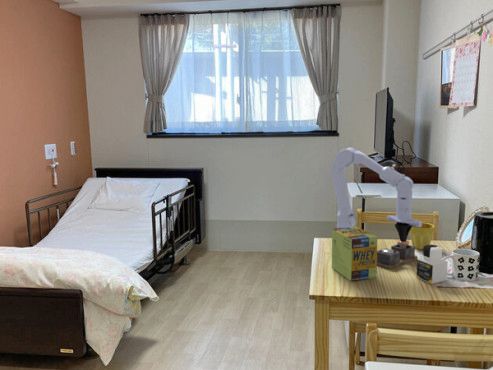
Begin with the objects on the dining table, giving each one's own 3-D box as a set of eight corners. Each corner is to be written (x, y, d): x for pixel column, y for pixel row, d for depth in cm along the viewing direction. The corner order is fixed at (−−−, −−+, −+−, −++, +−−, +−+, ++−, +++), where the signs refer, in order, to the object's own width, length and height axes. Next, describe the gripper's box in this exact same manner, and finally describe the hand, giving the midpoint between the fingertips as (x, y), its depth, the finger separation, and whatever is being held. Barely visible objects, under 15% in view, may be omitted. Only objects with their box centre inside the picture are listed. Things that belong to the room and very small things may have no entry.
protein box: (351, 282, 151) (351, 239, 148) (331, 267, 165) (331, 228, 163) (377, 278, 153) (378, 236, 151) (355, 264, 168) (356, 225, 165)
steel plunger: (388, 263, 164) (389, 253, 163) (379, 260, 167) (379, 250, 167) (395, 260, 166) (396, 250, 166) (386, 257, 170) (386, 248, 169)
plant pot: (423, 252, 179) (424, 229, 178) (402, 246, 188) (403, 224, 186) (438, 247, 185) (439, 225, 183) (417, 242, 193) (418, 221, 192)
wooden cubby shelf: (389, 269, 161) (390, 256, 161) (372, 263, 168) (372, 251, 167) (417, 258, 172) (417, 246, 171) (399, 253, 178) (400, 242, 177)
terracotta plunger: (404, 253, 169) (404, 243, 169) (394, 250, 173) (395, 240, 172) (411, 250, 172) (411, 241, 171) (401, 248, 175) (401, 238, 175)
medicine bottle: (415, 277, 153) (417, 245, 151) (431, 274, 156) (432, 242, 154) (431, 284, 146) (433, 250, 144) (447, 280, 149) (448, 247, 147)
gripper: (382, 206, 173) (381, 239, 175) (414, 212, 161) (413, 247, 163) (393, 204, 177) (392, 235, 179) (425, 209, 165) (424, 243, 168)
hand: (403, 241), depth 172 cm, fingers closed, pressing on terracotta plunger
